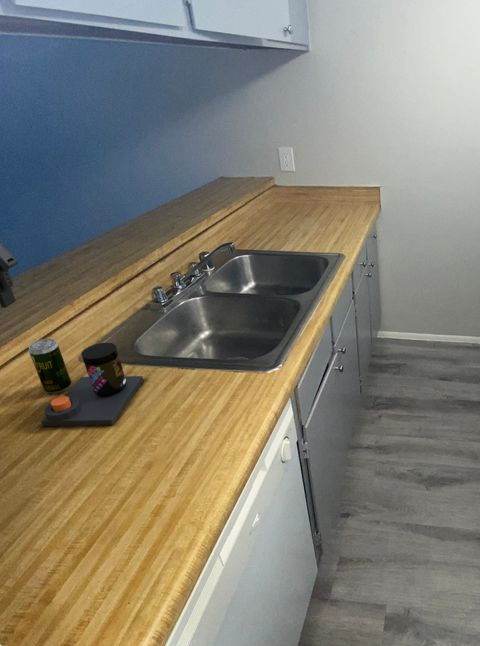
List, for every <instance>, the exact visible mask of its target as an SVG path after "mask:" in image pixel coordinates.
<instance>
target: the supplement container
mask: <svg viewBox="0 0 480 646" xmlns="http://www.w3.org/2000/svg"><path fill="white" fill-rule="evenodd" d="M80 353H81V354H80V356H81V359H82V362H83V364H84V368H85V370H86V373H87V377H89V379H90V382H91V385H92V388H93V391H94V393H95V394H97V395H99V396H111V395H115V394H117V393H119V392H121V391H122V390H123V389H124V388H125V387H126V383H127V382H126V379H125V376H126V375H125V372H124V369H123V365H122V362H121V358H120V355H119V351H118V347H117V345H116V344H115V343H112V342H100V343H99V342H98V343H96V344H95V343H94V344H91V345H90V346H88V347H86V348H84V349H83V350H82V351H81V352H80Z"/></svg>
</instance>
